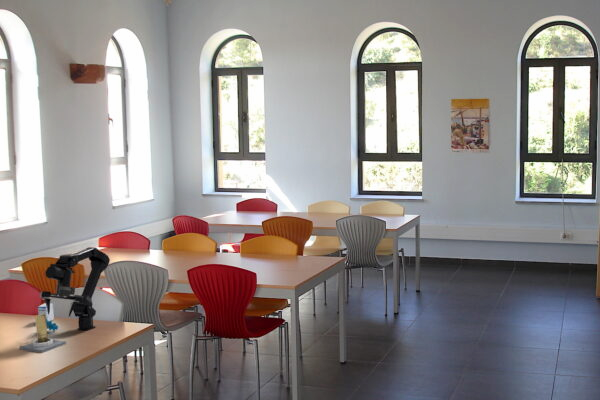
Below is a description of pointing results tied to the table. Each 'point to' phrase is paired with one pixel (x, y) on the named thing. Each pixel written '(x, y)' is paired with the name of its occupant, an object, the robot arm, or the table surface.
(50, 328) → the gear
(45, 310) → the medicine box
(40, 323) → the brass shaft
